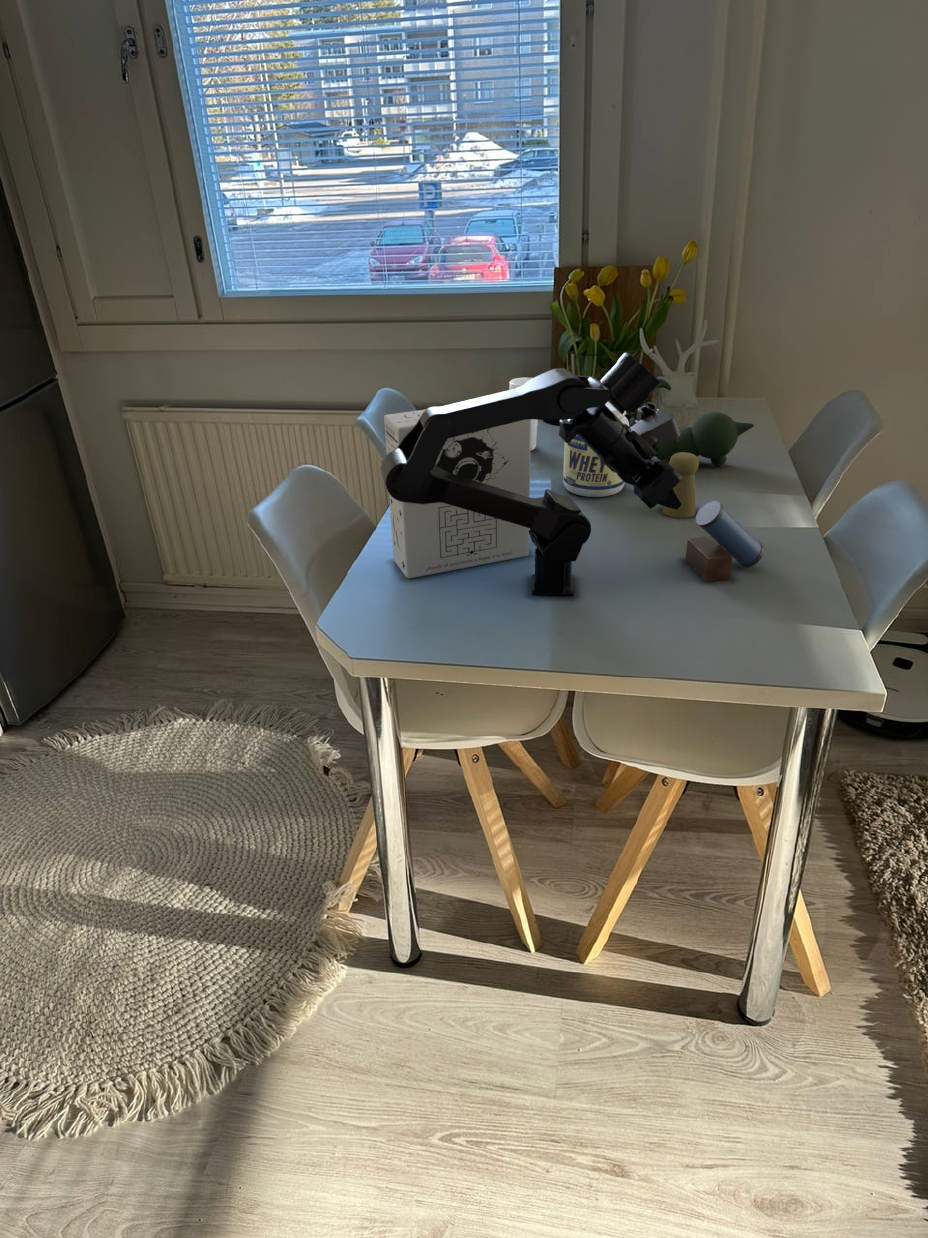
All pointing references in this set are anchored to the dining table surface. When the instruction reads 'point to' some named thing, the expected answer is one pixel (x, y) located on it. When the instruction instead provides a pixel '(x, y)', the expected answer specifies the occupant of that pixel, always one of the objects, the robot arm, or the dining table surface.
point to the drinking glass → (534, 422)
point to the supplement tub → (589, 468)
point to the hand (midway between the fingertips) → (672, 500)
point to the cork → (684, 484)
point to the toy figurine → (702, 436)
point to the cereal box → (450, 532)
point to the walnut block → (708, 559)
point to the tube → (730, 534)
